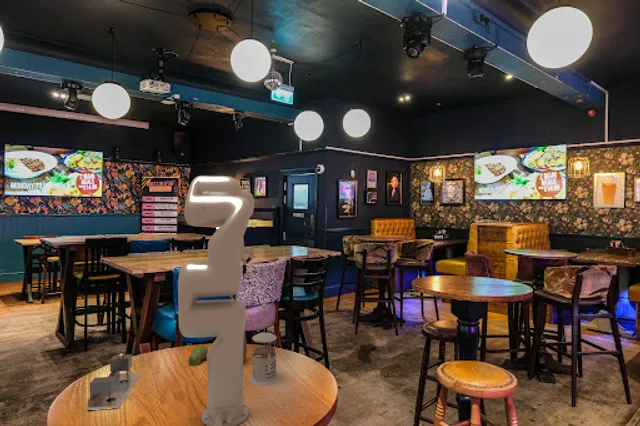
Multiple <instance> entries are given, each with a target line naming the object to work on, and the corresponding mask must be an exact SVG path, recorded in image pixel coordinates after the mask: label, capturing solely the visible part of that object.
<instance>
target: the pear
mask: <svg viewBox="0 0 640 426" xmlns="http://www.w3.org/2000/svg"><path fill="white" fill-rule="evenodd" d="M208 350H209V348H208V347H207V346H206V345H204V344H198V345H196V346H195V347H194V348H193V349H192V350H191V351H190V352H191V353H190V355H189V356H188V366H199V365H200V364H201V363H202V360H204V359H205V358H206V359H207V354H208Z"/></svg>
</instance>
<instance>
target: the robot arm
mask: <svg viewBox="0 0 640 426" xmlns="http://www.w3.org/2000/svg"><path fill="white" fill-rule="evenodd" d="M183 208H184V211H183V212H184V215H183V216H184V219H185V221H186V223H187V224H188V225H189V226H192V227H215V228H216V229H215V232H214V233H213V234H212V236H211V237H210V238H209V240H208V242H207V254H206V257H207V260H191V261H188V262H185V263H184V264H183V265H182V266H181V268H180V269H179V274H178V280H177V283H178V284H177V288H178V289H177V292H178V293H177V294H178V295H177V297H178V301H177V302H178V306H177V307H178V328H179V332H180V334H181V336H182V337H184V338H189V339H190V338H210V337H211V338H213V337H214V338H216V339H215V340H214V341H213V342H212V344H210V346H209V348H208V354H207V356H206V388H207V389H206V392H207V393H206V394H207V395H206V398H207V401H206V403H207V404H206V405H207V407H206V408H205V409H204V410H202V412H201V417H200V418H201V422H202V423H203V424H204V425H205V426H238V425H240V424H242V423H243V422H244V421H247V419H248V417H249V416H250V409H249V407H248V406H247V405H246V404H244V363H243V339H244V330H246V329H245V328H246V321H247V308H246V305H245V304H244V303H243V302H242V301H239V300H236V299H228V298H227V299H212V300H211V299H210V300H209V299H208V300H207V299H206V300H198V299H199V298H212V297H213V298H214V297H215V298H216V297H217V298H218V297H229V296H230V297H231V296H233V295H236V294H237V293H238V292H239V290H240V286H241V279H242V277H241V276H243V277H244V276H245V274H247V265H248V264H249V263H250V262H251V261H252V259H253V257H254V254H255V252H253V251H251V250H248V249H246V248H245V242H244V235H245V234H246V230H247V227H248V225H249V221H250V218H251V216H253V213H254V210H255V199H254V195H253V194H252V193H251V192H249V191H247V190H244V189H242V188H241V185H240V182H239V181H238V179H236V178H234V177H232V176H227V175H198V176H195V177H194V178H193V180H192V181H191V182H190V184H189V187H188V191H187V195H186V198H185V202H184V206H183ZM245 254H247V255H249V256H248V257H247V258H246V259H245ZM241 263H242V264H241ZM241 265H242V267H241ZM241 269H242V271H241ZM241 273H242V275H241Z"/></svg>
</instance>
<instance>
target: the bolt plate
mask: <svg viewBox="0 0 640 426" xmlns="http://www.w3.org/2000/svg"><path fill="white" fill-rule="evenodd" d="M139 377H140V372H130V375H126V372H125V373H121V371H117V372H110V373H109V374H108V376H102V377H94V378H93V379H92V381H90V382H89V399H87V408H86V409H87V410H89V409H104V408H105V409H107V408H118V407H119V406H120V407H121V405H122V404H123V402H124V400H125V399H126V398H127V395H128V394H129V392H130V391H131V389H132V388H133V386H134V384H136V382H137V380H138V378H139ZM122 401H123V402H122ZM121 403H122V404H121ZM120 404H121V405H120ZM120 407H119V408H120ZM119 408H118V409H119ZM87 410H86V411H87Z"/></svg>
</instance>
